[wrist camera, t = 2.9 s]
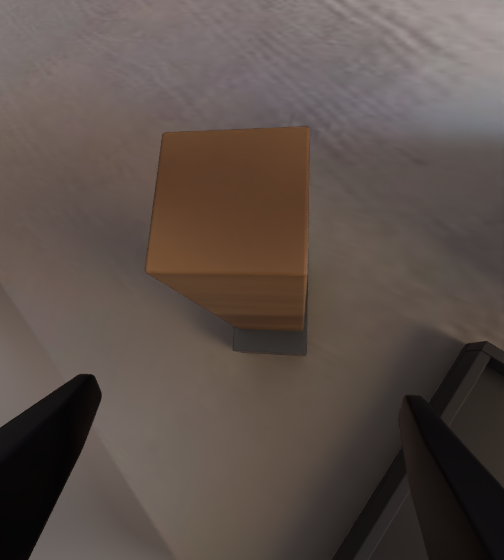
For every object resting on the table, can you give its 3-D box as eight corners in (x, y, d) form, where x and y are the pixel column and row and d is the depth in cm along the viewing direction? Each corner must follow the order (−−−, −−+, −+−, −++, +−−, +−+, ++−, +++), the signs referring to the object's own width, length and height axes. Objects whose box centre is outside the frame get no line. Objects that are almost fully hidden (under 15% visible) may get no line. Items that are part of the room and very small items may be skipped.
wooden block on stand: (305, 356, 21) (317, 334, 7) (241, 352, 22) (126, 326, 7) (307, 262, 23) (319, 80, 8) (246, 261, 23) (158, 90, 9)
